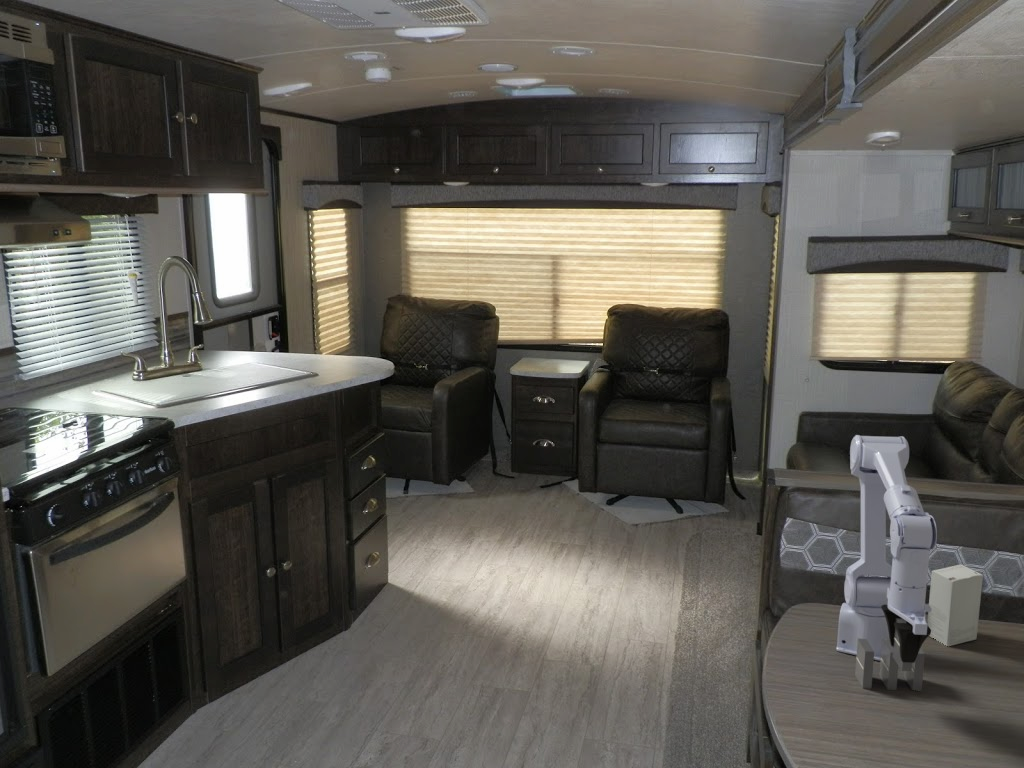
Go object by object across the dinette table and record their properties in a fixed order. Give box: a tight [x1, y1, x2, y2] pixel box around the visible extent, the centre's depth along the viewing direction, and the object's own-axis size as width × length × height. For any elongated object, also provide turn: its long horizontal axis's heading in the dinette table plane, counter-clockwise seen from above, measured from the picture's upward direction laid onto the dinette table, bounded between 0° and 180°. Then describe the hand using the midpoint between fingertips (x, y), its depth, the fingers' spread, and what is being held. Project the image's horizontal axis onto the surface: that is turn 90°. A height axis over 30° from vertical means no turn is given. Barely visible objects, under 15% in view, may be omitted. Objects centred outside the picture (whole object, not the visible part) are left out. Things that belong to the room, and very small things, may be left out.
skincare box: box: [926, 564, 984, 647], centre depth 182 cm, size 8×6×15 cm
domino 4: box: [903, 647, 926, 692], centre depth 165 cm, size 2×5×8 cm, turn 174°
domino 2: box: [878, 639, 899, 691], centre depth 166 cm, size 2×5×8 cm, turn 174°
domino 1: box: [854, 639, 875, 690], centre depth 166 cm, size 2×5×8 cm, turn 174°
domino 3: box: [893, 618, 912, 672], centre depth 156 cm, size 2×5×8 cm, turn 175°
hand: (902, 653), depth 156 cm, fingers closed on domino 3, 5 cm apart
